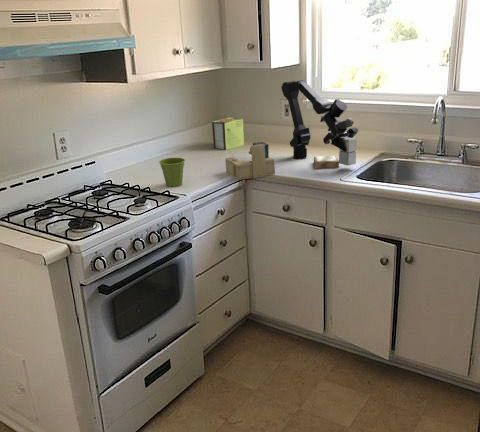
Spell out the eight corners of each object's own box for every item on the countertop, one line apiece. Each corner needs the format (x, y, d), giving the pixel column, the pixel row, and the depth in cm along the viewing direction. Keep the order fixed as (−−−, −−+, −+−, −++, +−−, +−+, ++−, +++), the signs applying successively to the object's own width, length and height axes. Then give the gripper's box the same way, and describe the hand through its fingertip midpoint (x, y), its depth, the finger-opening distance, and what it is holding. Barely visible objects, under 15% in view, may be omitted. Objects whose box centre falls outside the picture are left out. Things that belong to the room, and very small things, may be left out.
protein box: (244, 145, 315) (243, 118, 310) (225, 150, 305) (224, 122, 299) (231, 143, 322) (230, 117, 316) (213, 148, 311) (211, 121, 306)
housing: (338, 163, 255) (339, 138, 251) (346, 161, 258) (346, 136, 254) (348, 165, 251) (349, 140, 246) (355, 163, 253) (356, 138, 249)
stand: (315, 168, 259) (315, 161, 258) (313, 162, 270) (313, 156, 269) (338, 167, 259) (338, 160, 258) (336, 161, 269) (336, 155, 268)
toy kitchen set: (260, 167, 267) (259, 137, 262) (275, 174, 252) (274, 143, 247) (225, 172, 260) (223, 141, 255) (239, 181, 246) (237, 148, 241)
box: (269, 165, 269) (268, 144, 266) (258, 166, 267) (257, 145, 264) (263, 161, 276) (262, 141, 272) (252, 163, 274) (252, 142, 271)
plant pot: (156, 187, 241) (153, 163, 237) (168, 180, 251) (166, 156, 247) (180, 189, 237) (177, 164, 233) (191, 181, 247) (189, 158, 243)
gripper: (327, 115, 244) (345, 143, 240) (356, 110, 254) (373, 136, 250) (315, 130, 253) (332, 157, 248) (343, 124, 263) (359, 150, 258)
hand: (349, 150), depth 251 cm, fingers closed on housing, 5 cm apart
